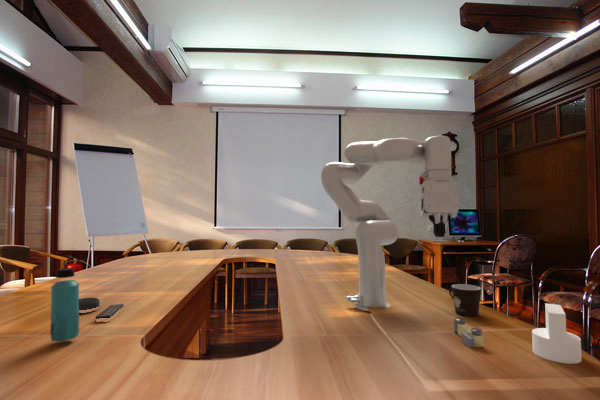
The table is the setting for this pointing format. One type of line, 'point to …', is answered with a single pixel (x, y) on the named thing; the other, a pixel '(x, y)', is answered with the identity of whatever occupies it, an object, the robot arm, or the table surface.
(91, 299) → the smart speaker
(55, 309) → the beverage bottle
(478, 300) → the coffee mug
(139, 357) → the table surface
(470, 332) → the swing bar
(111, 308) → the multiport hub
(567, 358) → the cylinder with rectangular tab
